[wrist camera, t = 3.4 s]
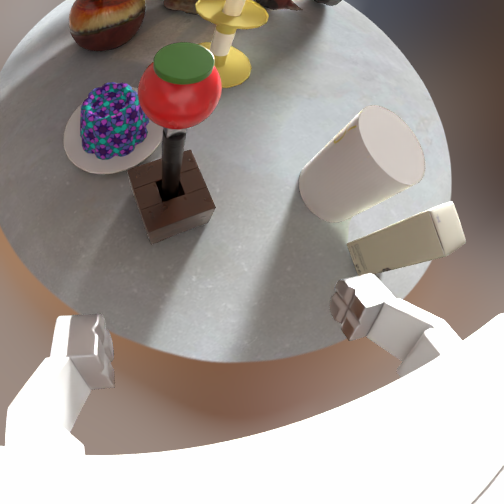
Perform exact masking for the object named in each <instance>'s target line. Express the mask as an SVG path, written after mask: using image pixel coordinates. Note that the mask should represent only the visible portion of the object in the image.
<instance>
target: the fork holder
mask: <svg viewBox="0 0 504 504" xmlns="http://www.w3.org/2000/svg"><path fill="white" fill-rule="evenodd" d="M127 172H128V176H129V180H130V184H131V188H132V192H133V195H134V198H135V201H136V204H137V207H138V210H139V213H140V216H141V219H142V221H143V224H144V227H145V230H146V233H147V235H148V238H149V241H150V243H151V245H152V244H154V243H157V242H159V241H162V240H164V239H167V238H170V237H172V236H175V235H177V234H180V233H183V232H185V231H188V230H191V229H193V228H196V227H198V226H201V225H204V224H207V223H208V222H209V220H210V218H211V216H212V214H213V212H214V210H215V208H216V207H215V205H214V202H213V200H212V198H211V195H210V193H209V191H208V188H207V186H206V184H205V181H204V179H203V177H202V174H201V172H200V169H199V168H198V165H197V163H196V160H195V158H194V155H193V153H192V151H191V150H188V151H184V152H183V158H182V165H181V172H180V179H179V187H178V195H177V198H174V199H171V200H168V201H165V202H162V199H161V198H162V158H161V159H158V160H155V161H152V162H149V163H146V164H143V165H140V166H137V167H135V168H132V169H129V170H127Z"/></svg>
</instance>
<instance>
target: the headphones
mask: <svg viewBox="0 0 504 504" xmlns="http://www.w3.org/2000/svg"><path fill="white" fill-rule="evenodd" d="M314 1H316V2H318V3H321V4H326V5H329V6H333V5H336V4H338V3H339V2H341V0H314Z"/></svg>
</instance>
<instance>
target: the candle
mask: <svg viewBox="0 0 504 504" xmlns="http://www.w3.org/2000/svg"><path fill="white" fill-rule="evenodd" d="M195 7H196V12H197V13H198V14H199V15H200V16H201V17H202V18H203V19H205V20H207V21H209V22H211V23H214V24H216V28H215V32H214V35H213V39H212V42H203V43H199V44H198V45H201V46H203V47H205V48H206V49H208V50H209V51H210V52H211V53H212V55H213V57H214V60H215V63H214V66H215V67H216V69H217V70H218V73H219V75H220V78H221V83H222V88H230V87H233V86H236V85H240V84H242V83H243V82H244V81H245V80H246V79H248V78H249V75H250V72H251V69H252V68H251V65H250V62H249V59H248V58H247V57H246V56H245V55H244V54H243V53H242V52H241V51H239V50H238V49H236V48H234V47H232V46H231V44H232V41H233V38H234V35H235V32H236V30H237V29H252V28H258V27H260V26H262V25H264V24H266V23H267V20H268V17H269V15H268V13H267V11H266V9H265V8H263V7H262V6H261V5H260V4H258V3H257V2H255V1H253V0H198V1H197V2H196V4H195Z"/></svg>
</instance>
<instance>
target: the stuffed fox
mask: <svg viewBox="0 0 504 504" xmlns="http://www.w3.org/2000/svg"><path fill="white" fill-rule="evenodd" d="M256 2H257V3H258V4H260V5H261V6H264V7H266V8H269V9H271V10H277V9H290V10H296V11H298V10H302V9H301V8H299V7H298V6H297V5H296V4H295V3H294V2H292V1H291V0H256Z"/></svg>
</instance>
